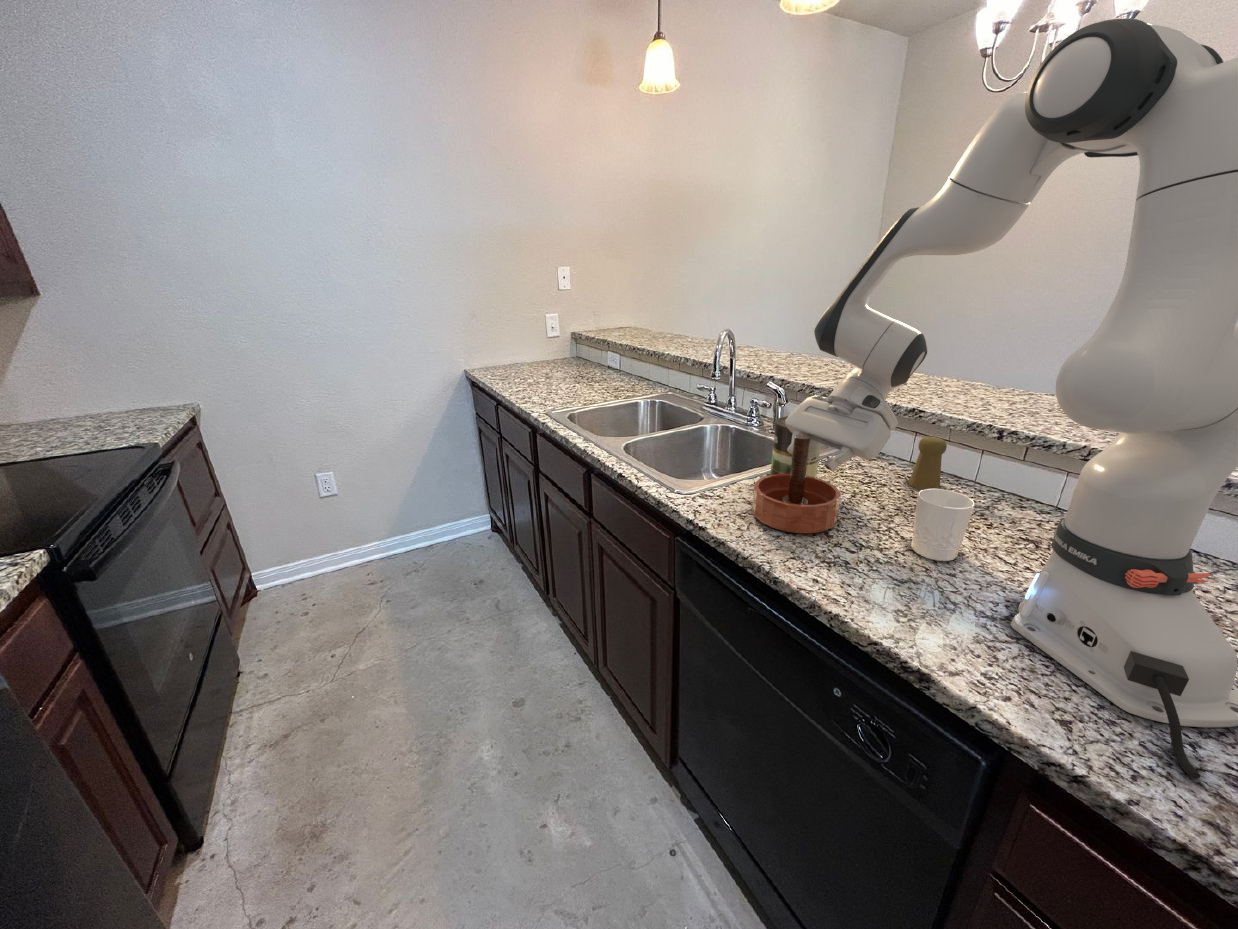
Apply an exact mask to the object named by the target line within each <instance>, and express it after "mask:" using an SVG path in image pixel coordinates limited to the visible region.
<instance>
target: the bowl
mask: <svg viewBox="0 0 1238 929" xmlns="http://www.w3.org/2000/svg"><path fill="white" fill-rule="evenodd" d="M789 482H790V474H775V475H770V474H769V475H766V476H762V477H760V478H759V479H757V480H756V481H755V484H754V487H753V496H752V498H753V499H752V513H753V515H754V517H755V518H756V519H757V520H758V521H759V522H761V523H762V524H764V525H766V526H768V527H770V528H772V529H775V530H780V531H783V532H786V533H787V532H788V533H793V534H817V533H821V532H826V531H828V530H830V529H832V528H833V527H834V526H835V525H836V524H837V521H838V515H839V509H840V502H841V490H839V489H838V488H837V486H835V485H834V484H832V483H830V482H828V481H827V480H823V479H821V478H818V477H816V478H815V477H811V476H806V478H805V487H804V495H803V497H804V498H806V499H807V500H808V505H798V504H790V503H786V502H782V498H783V497H784V496H787V495H788V491H789Z"/></svg>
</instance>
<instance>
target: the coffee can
mask: <svg viewBox="0 0 1238 929" xmlns="http://www.w3.org/2000/svg"><path fill="white" fill-rule="evenodd" d="M788 416H789V415H786V416H785V415H784V416H781V417H778V418H776V419H775V420H774V430H773V431H774V432H773V443H772V452H771V453H772V454H771V465H770V473H769V475H775V474H790V473H791V464H792V454H790V453H789V452H788V451H787V448H788V447H789V446H790V444H791V441H792V434H793V433H791V432H790V430H789V429H788V428H787V427H786V425H785V422H786V419H787V417H788ZM821 446H822V444H821V443H818V442H816V441H813V440H810V446H809V454H808V462H807V470H806V476H811V477H815V478H817V475H818V469H819V468H818V467H819V460H820V455H821V454H820V453H821Z"/></svg>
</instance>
